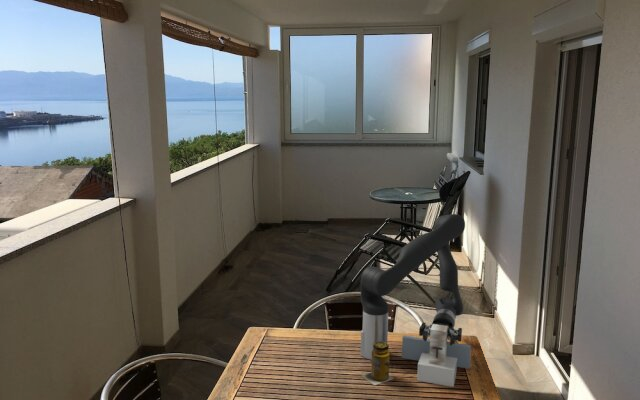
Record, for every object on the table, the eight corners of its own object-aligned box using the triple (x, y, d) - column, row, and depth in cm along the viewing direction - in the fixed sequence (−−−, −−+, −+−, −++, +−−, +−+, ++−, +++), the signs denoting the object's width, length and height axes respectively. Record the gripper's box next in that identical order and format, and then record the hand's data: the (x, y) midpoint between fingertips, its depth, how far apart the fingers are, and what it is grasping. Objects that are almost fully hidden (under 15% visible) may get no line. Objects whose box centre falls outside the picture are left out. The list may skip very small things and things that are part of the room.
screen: (401, 357, 198) (402, 337, 197) (402, 355, 200) (403, 335, 199) (469, 368, 191) (470, 347, 189) (469, 366, 192) (471, 345, 191)
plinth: (417, 380, 182) (417, 364, 181) (421, 368, 191) (422, 352, 190) (453, 387, 178) (454, 370, 177) (456, 374, 187) (457, 358, 186)
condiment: (394, 378, 183) (395, 345, 181) (374, 386, 179) (375, 352, 177) (380, 370, 189) (381, 337, 187) (361, 376, 185) (361, 343, 183)
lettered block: (428, 363, 182) (430, 329, 179) (431, 356, 187) (432, 323, 184) (444, 365, 180) (445, 332, 178) (445, 358, 185) (447, 325, 183)
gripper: (424, 309, 197) (417, 327, 182) (464, 315, 192) (460, 333, 177) (423, 329, 198) (416, 347, 183) (463, 334, 194) (459, 354, 179)
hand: (438, 340), depth 180 cm, fingers open, 8 cm apart
